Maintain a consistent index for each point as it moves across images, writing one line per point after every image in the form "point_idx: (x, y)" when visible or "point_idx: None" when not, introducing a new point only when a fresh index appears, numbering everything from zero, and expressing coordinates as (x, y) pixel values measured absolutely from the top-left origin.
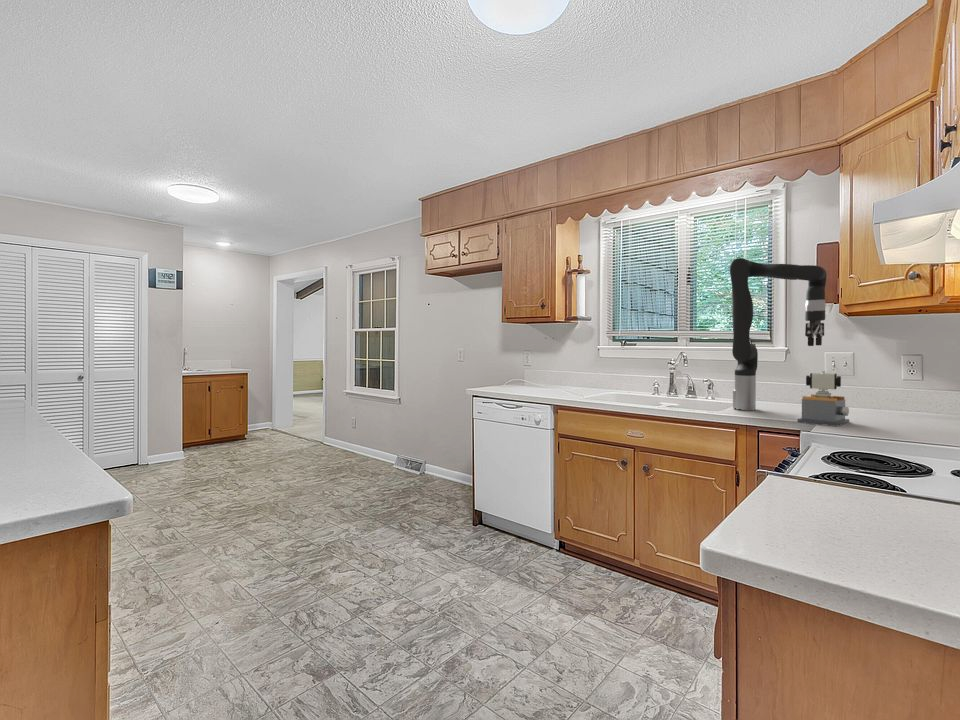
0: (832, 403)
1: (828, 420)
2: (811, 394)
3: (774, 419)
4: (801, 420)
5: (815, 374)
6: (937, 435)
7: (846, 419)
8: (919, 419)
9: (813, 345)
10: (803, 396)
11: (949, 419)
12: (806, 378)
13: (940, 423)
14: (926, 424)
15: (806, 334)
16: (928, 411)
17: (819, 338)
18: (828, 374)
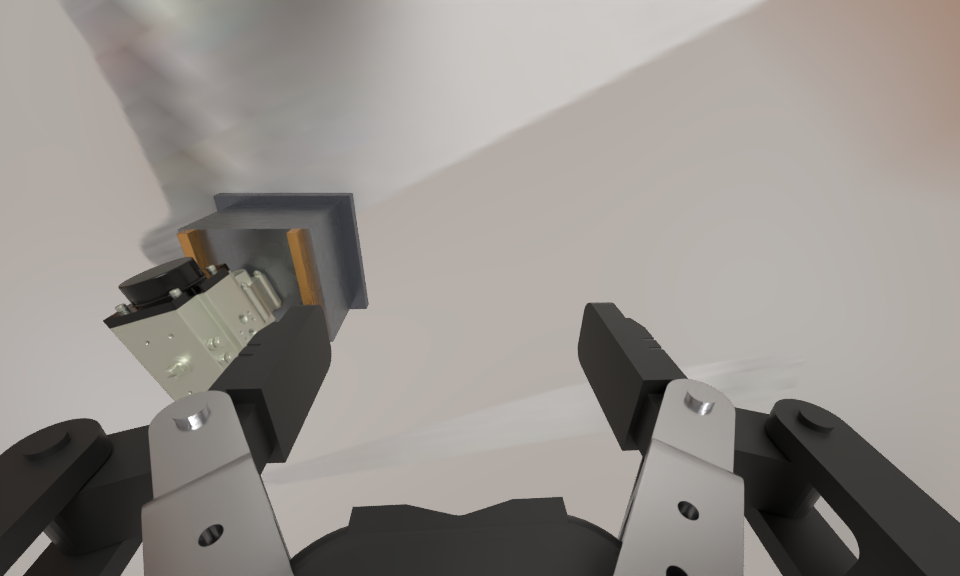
0: None
1: None
2: (291, 233)
3: (188, 100)
4: (219, 208)
5: (126, 341)
6: (333, 460)
7: (354, 305)
8: (563, 393)
9: (324, 361)
10: (179, 237)
11: (606, 428)
12: (119, 286)
13: (521, 431)
14: (482, 419)
15: (17, 479)
16: (749, 372)
17: (620, 415)
18: (167, 392)
